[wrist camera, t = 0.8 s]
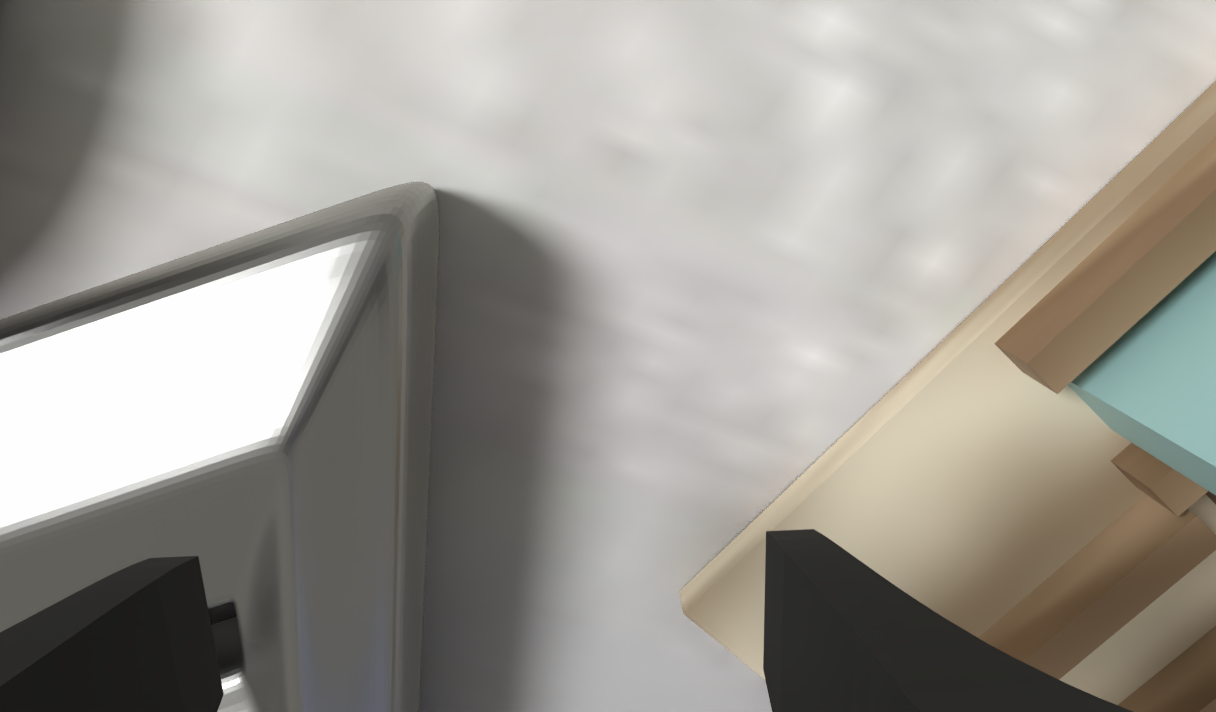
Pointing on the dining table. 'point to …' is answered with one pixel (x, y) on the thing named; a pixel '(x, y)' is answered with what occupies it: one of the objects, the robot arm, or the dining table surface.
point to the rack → (1030, 466)
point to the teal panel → (1164, 379)
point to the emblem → (243, 447)
